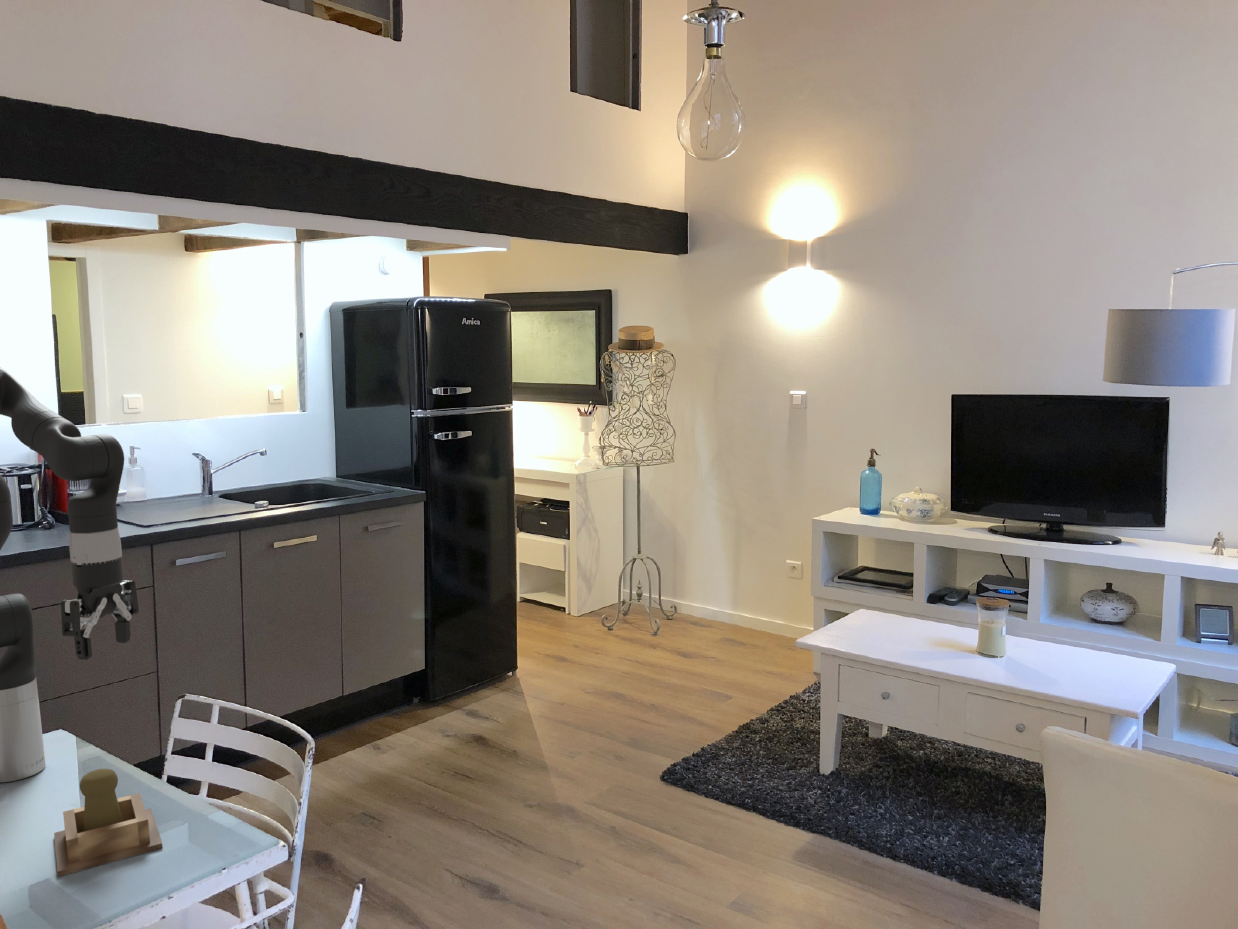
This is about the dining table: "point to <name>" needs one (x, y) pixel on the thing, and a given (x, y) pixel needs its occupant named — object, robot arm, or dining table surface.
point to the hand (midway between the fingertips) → (104, 650)
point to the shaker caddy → (106, 837)
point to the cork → (100, 799)
